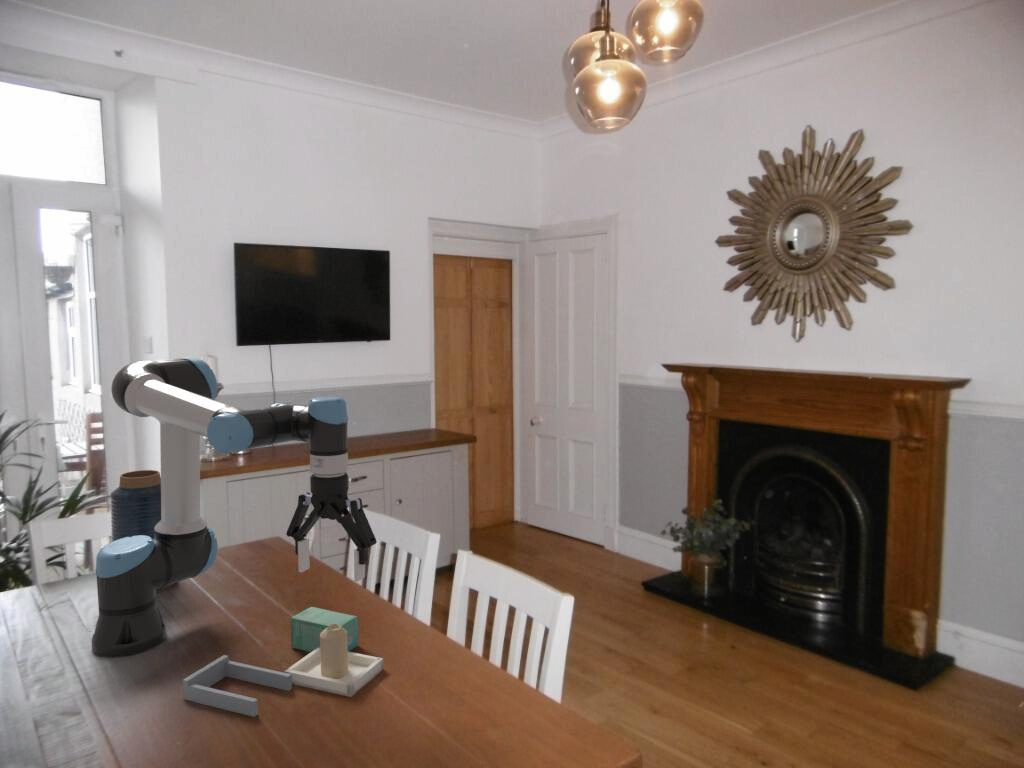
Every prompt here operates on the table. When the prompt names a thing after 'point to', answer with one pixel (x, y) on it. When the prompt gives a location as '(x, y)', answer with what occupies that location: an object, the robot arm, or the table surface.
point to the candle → (334, 652)
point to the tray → (348, 685)
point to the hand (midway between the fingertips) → (331, 574)
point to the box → (321, 628)
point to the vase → (136, 506)
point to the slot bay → (217, 670)
